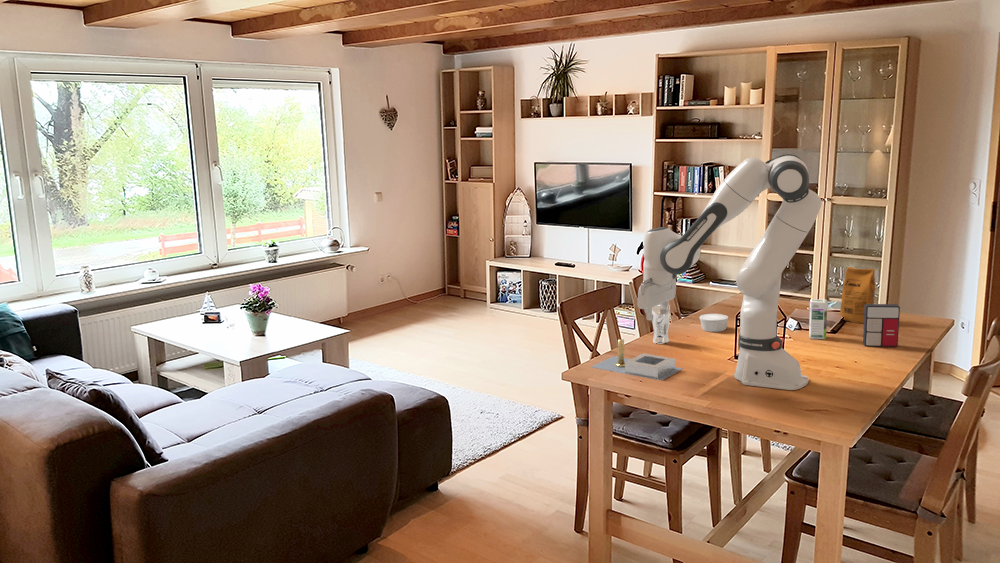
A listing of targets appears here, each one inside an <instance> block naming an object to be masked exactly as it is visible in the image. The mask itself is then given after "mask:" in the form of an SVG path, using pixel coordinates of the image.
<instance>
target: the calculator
mask: <svg viewBox="0 0 1000 563" xmlns="http://www.w3.org/2000/svg"><path fill="white" fill-rule="evenodd" d="M900 311H901V307H900V306H899V305H898V304H896V303H895V304H892V303H874V304H865V305H864V323H863V331H862V332H863V335H862V336H863V337H862V344H863V345H864V347H879V348H880V347H882V348H883V347H885V348H886V347H887V348H889V347H890V348H897V347H898V345H899V330H900Z"/></svg>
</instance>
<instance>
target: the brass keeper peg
mask: <svg viewBox="0 0 1000 563" xmlns="http://www.w3.org/2000/svg"><path fill="white" fill-rule="evenodd" d="M617 357H618V362H617V363H615V366H617V367H625V362H624V358H625V340H624V339H622V338H621V339H620V338H619V339H617Z"/></svg>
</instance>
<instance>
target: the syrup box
mask: <svg viewBox="0 0 1000 563" xmlns="http://www.w3.org/2000/svg"><path fill="white" fill-rule="evenodd" d="M827 321H828V300H827V299H817V298H816V299H814V298H813V299H812V298H811V299H810V300H809V324H808V325H809V328H808V329H809V330H808V332H809V333H808V335H809V339H810V340H826V339H827V324H828V322H827Z"/></svg>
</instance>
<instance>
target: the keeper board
mask: <svg viewBox="0 0 1000 563" xmlns="http://www.w3.org/2000/svg"><path fill="white" fill-rule="evenodd" d="M630 359H631V358H625V357H624V362H626V361H628V360H630ZM617 362H618V356H616V355H613V356H610V357H608V358H607V359H604V360H602V361H600V362H597V363H596V364H594V365H591V366H590V368H593V369H599V370H603V371H609V372H614V373H619V374H625V375H630V376H635V377H641V378H647V379H651V380H655V381H664V380H666V379H668V378H669V377H671V376H673V375H674V374H676V373H678V372H680V371H681V370H683V369H684V368H682V367H676V366H675V369H674V370H672V371H671V372H669V373H667V374H665V375H663V376H662V377H660V378H658V379H657V378H652V377H646V376H641V375H636V374H630V373H625V367H617V366H615V363H617Z"/></svg>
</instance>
